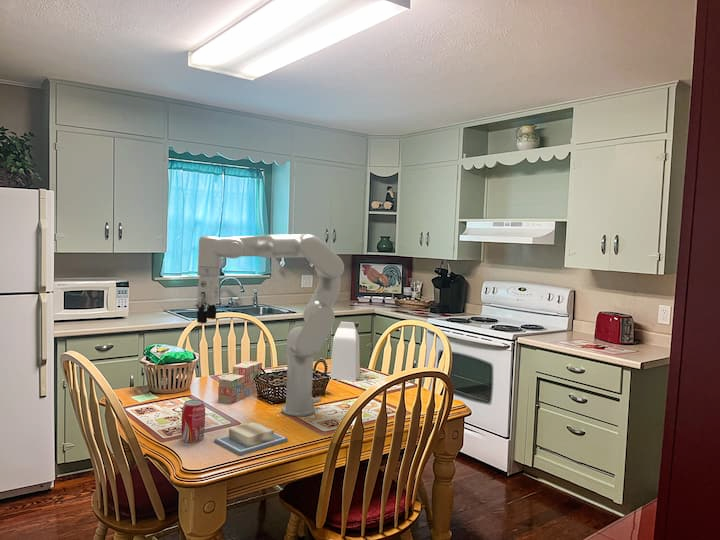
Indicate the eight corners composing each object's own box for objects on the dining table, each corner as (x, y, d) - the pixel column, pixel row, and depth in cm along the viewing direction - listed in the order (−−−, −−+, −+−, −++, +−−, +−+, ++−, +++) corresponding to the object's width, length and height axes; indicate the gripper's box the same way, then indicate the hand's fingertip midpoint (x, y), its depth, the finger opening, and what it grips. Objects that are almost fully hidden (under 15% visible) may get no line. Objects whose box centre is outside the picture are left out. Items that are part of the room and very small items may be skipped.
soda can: (183, 435, 180) (184, 398, 180) (206, 435, 181) (207, 399, 180) (178, 443, 173) (179, 405, 173) (202, 443, 174) (203, 405, 173)
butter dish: (261, 429, 189) (261, 417, 189) (287, 441, 179) (288, 429, 179) (214, 441, 176) (214, 429, 176) (239, 455, 166) (240, 442, 166)
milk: (329, 379, 256) (331, 323, 254) (334, 373, 267) (337, 319, 266) (355, 381, 254) (357, 325, 252) (359, 375, 265) (362, 321, 264)
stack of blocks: (231, 404, 214) (232, 372, 213) (217, 402, 216) (218, 370, 216) (261, 390, 234) (262, 361, 233) (248, 388, 236) (249, 359, 235)
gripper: (211, 274, 186) (209, 325, 187) (226, 270, 203) (224, 317, 204) (189, 272, 186) (187, 323, 187) (206, 269, 203) (204, 316, 204)
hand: (206, 320), depth 195 cm, fingers open, 9 cm apart
